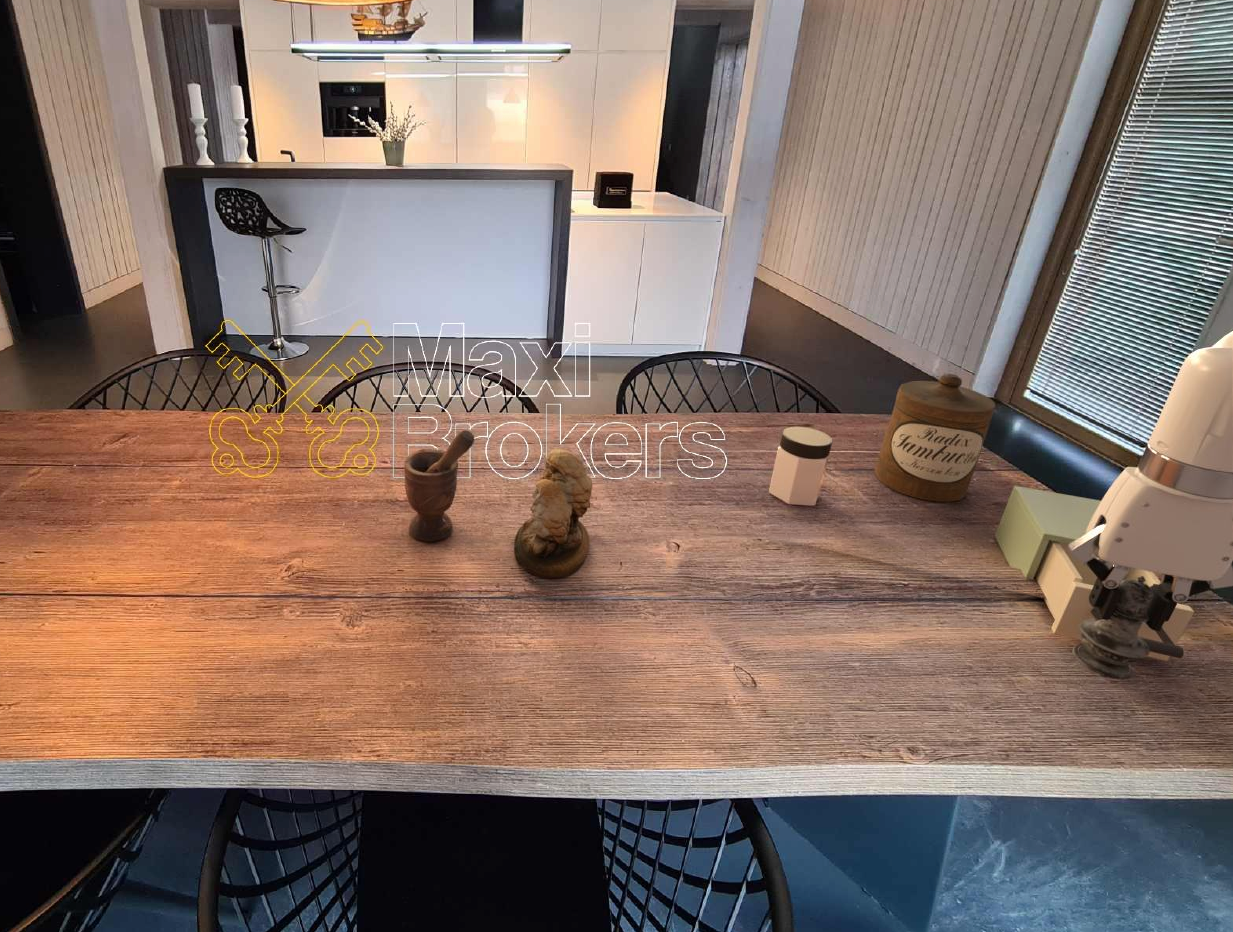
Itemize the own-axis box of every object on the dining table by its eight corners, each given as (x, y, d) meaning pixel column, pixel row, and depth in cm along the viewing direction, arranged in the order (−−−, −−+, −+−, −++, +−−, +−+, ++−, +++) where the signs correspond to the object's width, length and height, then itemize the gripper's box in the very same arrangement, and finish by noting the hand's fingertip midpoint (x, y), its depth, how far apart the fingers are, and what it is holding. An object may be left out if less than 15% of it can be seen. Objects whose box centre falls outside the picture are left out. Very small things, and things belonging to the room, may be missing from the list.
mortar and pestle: (479, 521, 114) (481, 414, 106) (470, 550, 106) (472, 438, 98) (413, 513, 115) (410, 408, 108) (400, 542, 108) (396, 431, 100)
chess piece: (1129, 654, 77) (1171, 569, 72) (1144, 689, 72) (1190, 601, 68) (1064, 636, 80) (1100, 553, 75) (1074, 669, 75) (1113, 582, 70)
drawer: (1190, 694, 79) (1220, 642, 76) (1069, 663, 84) (1092, 613, 80) (1121, 596, 96) (1144, 550, 92) (1023, 575, 100) (1041, 530, 97)
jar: (810, 484, 126) (824, 427, 121) (827, 507, 119) (843, 447, 114) (761, 481, 127) (773, 424, 122) (775, 504, 119) (789, 444, 115)
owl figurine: (523, 511, 117) (528, 423, 110) (591, 520, 114) (600, 430, 107) (506, 574, 100) (510, 475, 94) (584, 586, 98) (594, 485, 91)
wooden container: (880, 492, 123) (912, 382, 115) (869, 458, 136) (898, 356, 127) (975, 510, 118) (1016, 396, 110) (955, 472, 131) (991, 367, 122)
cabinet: (1131, 613, 94) (1161, 556, 90) (1021, 589, 98) (1044, 533, 94) (1091, 555, 106) (1115, 503, 102) (994, 536, 111) (1014, 485, 107)
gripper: (1283, 470, 66) (1205, 615, 73) (1074, 441, 73) (1021, 578, 80) (1335, 507, 60) (1244, 663, 67) (1101, 472, 66) (1041, 618, 73)
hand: (1124, 615), depth 73 cm, fingers closed on chess piece, 3 cm apart
